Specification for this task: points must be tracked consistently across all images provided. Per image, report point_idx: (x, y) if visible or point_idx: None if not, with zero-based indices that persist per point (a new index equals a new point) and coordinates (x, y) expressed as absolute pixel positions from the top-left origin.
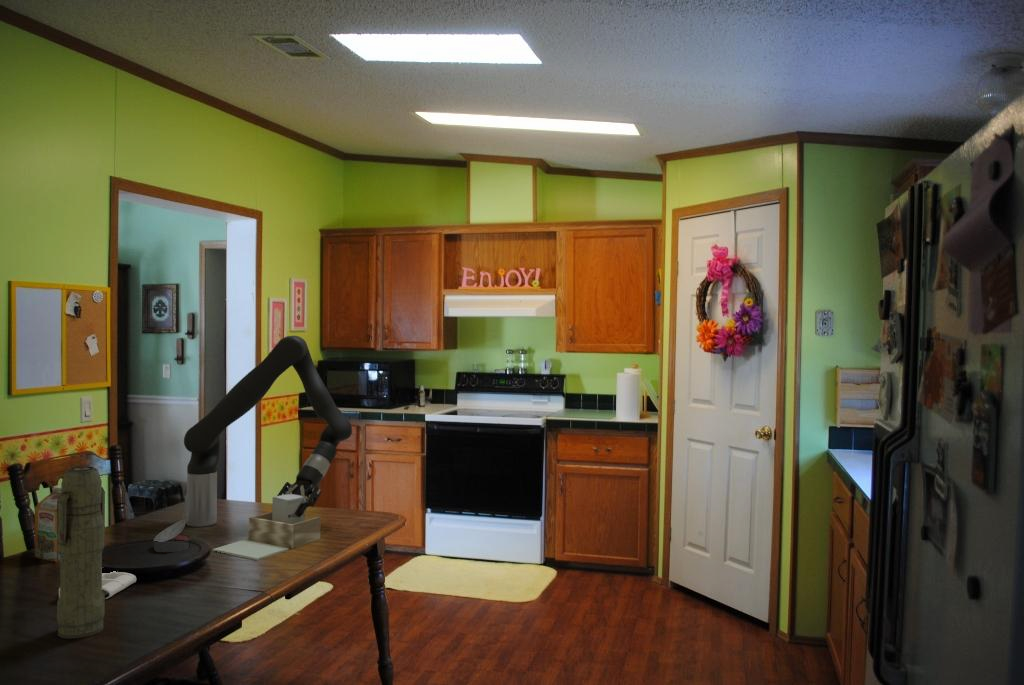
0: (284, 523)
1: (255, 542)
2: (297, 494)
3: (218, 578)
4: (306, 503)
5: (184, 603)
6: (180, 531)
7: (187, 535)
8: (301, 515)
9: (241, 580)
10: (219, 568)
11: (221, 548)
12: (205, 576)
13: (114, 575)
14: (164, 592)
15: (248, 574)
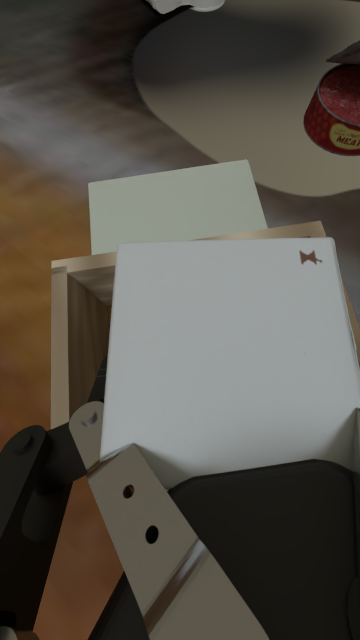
0: (106, 259)
1: None
2: (236, 475)
3: (62, 93)
4: (68, 423)
5: (10, 25)
6: (339, 54)
7: None
8: None
9: (14, 111)
10: (113, 118)
11: (236, 173)
12: (93, 86)
13: None
14: (79, 26)
15: (30, 133)
